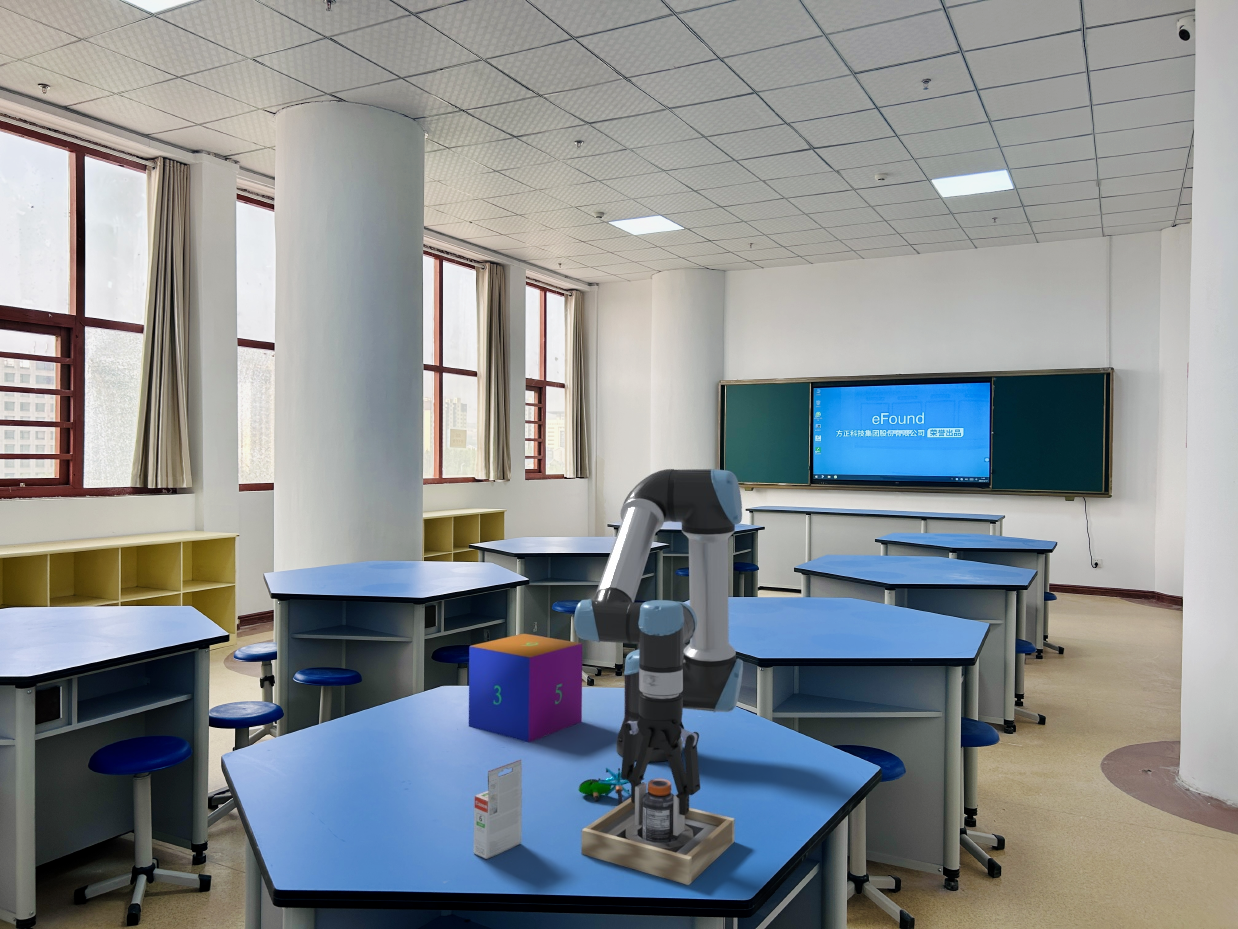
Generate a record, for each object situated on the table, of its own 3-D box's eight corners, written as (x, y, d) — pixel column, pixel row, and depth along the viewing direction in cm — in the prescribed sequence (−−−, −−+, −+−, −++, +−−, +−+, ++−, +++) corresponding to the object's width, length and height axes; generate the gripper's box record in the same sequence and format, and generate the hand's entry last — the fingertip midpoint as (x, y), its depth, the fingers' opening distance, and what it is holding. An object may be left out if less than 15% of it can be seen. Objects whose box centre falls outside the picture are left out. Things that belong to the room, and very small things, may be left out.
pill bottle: (658, 837, 149) (658, 773, 149) (683, 848, 145) (684, 782, 145) (634, 848, 145) (635, 782, 145) (659, 860, 141) (660, 792, 141)
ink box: (472, 854, 142) (473, 766, 142) (507, 838, 148) (508, 754, 148) (487, 860, 140) (487, 772, 140) (522, 844, 146) (523, 759, 146)
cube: (523, 708, 227) (523, 633, 227) (581, 722, 215) (582, 643, 215) (468, 726, 211) (469, 646, 211) (528, 742, 199) (529, 657, 199)
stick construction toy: (640, 780, 170) (632, 757, 166) (646, 811, 164) (637, 788, 160) (583, 795, 170) (572, 773, 166) (587, 827, 165) (576, 805, 160)
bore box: (581, 853, 142) (581, 830, 142) (634, 816, 158) (634, 794, 158) (688, 885, 132) (688, 859, 132) (734, 841, 147) (734, 818, 147)
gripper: (600, 689, 147) (599, 822, 147) (703, 707, 137) (702, 849, 137) (622, 680, 153) (621, 807, 153) (722, 696, 143) (721, 832, 143)
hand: (659, 827), depth 145 cm, fingers open, 7 cm apart
